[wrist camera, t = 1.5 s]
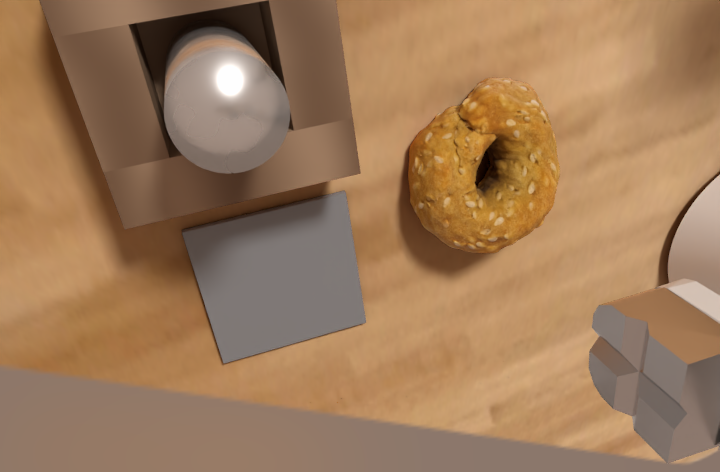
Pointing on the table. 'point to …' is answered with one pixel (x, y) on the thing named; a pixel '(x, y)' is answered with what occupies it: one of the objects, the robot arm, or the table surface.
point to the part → (222, 99)
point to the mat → (278, 275)
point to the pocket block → (147, 89)
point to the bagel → (503, 179)
